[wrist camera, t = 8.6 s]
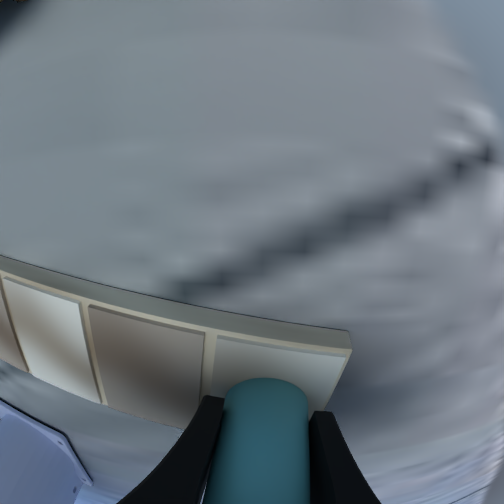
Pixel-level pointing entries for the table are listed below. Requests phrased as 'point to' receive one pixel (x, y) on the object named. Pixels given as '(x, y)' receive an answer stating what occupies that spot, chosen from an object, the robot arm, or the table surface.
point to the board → (153, 346)
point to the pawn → (261, 446)
